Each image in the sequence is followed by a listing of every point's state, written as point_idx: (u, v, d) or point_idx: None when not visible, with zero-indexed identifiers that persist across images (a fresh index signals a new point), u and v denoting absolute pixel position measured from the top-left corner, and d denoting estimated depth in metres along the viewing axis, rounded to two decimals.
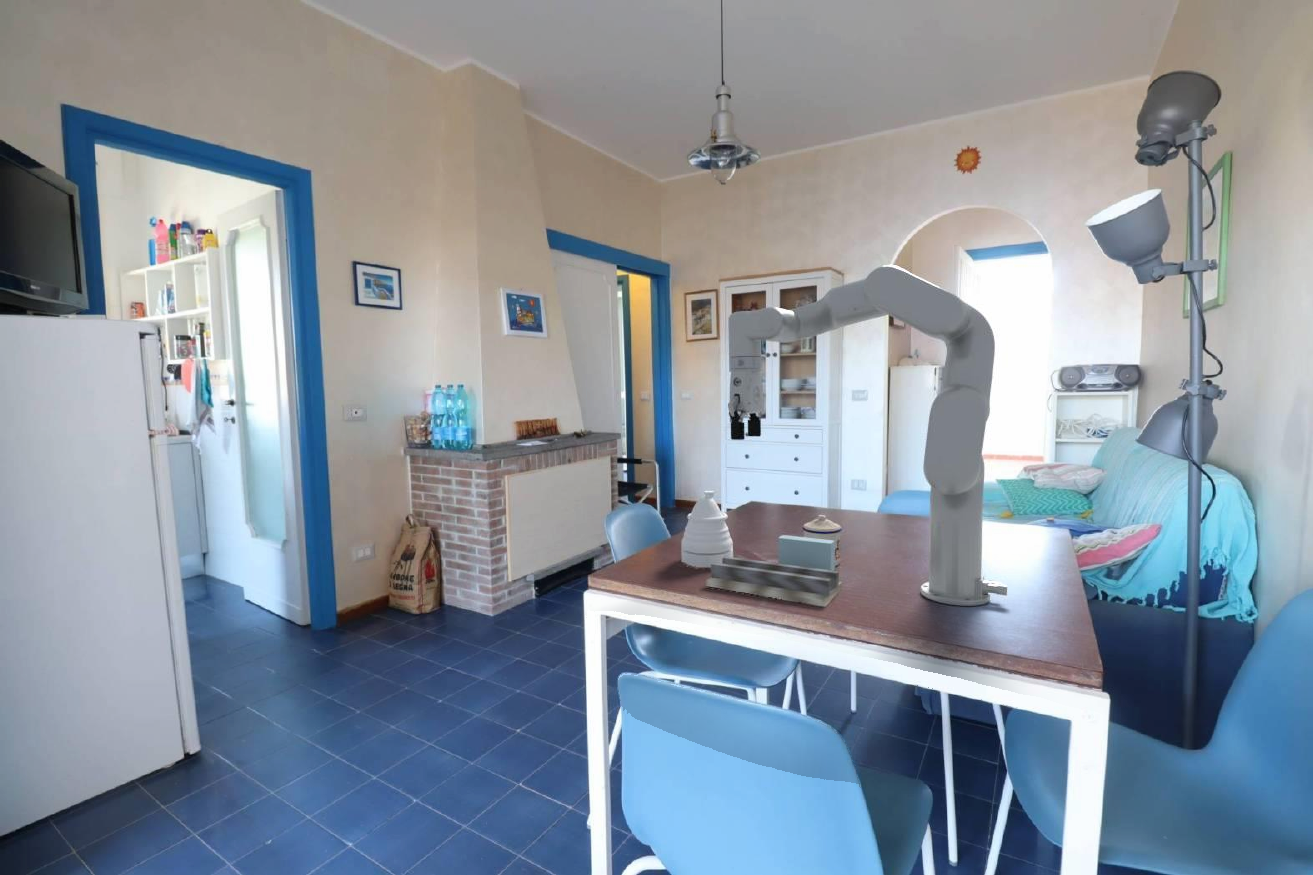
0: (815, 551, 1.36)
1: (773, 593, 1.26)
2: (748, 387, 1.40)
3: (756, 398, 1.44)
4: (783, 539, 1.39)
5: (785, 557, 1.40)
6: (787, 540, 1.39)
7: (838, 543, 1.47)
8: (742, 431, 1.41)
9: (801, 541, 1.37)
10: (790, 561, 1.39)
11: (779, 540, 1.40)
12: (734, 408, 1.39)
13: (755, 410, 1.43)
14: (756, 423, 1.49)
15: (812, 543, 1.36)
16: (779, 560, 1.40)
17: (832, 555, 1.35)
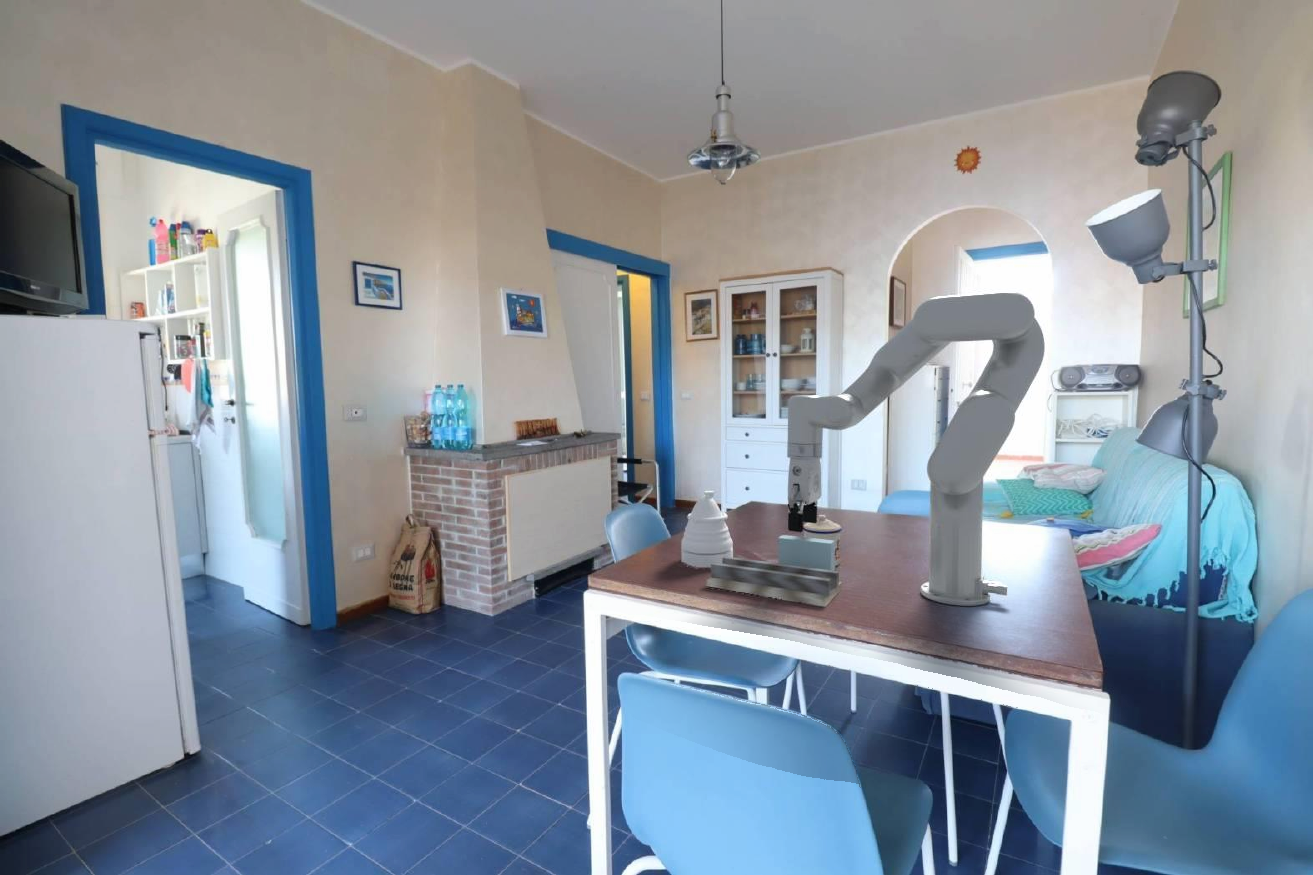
0: (815, 551, 1.36)
1: (773, 593, 1.26)
2: (808, 477, 1.32)
3: (815, 486, 1.36)
4: (783, 539, 1.39)
5: (785, 557, 1.40)
6: (787, 540, 1.39)
7: (838, 543, 1.47)
8: (801, 523, 1.33)
9: (801, 541, 1.37)
10: (790, 561, 1.39)
11: (779, 540, 1.40)
12: (794, 500, 1.31)
13: (814, 499, 1.35)
14: (812, 509, 1.41)
15: (811, 543, 1.36)
16: (779, 560, 1.40)
17: (832, 555, 1.35)
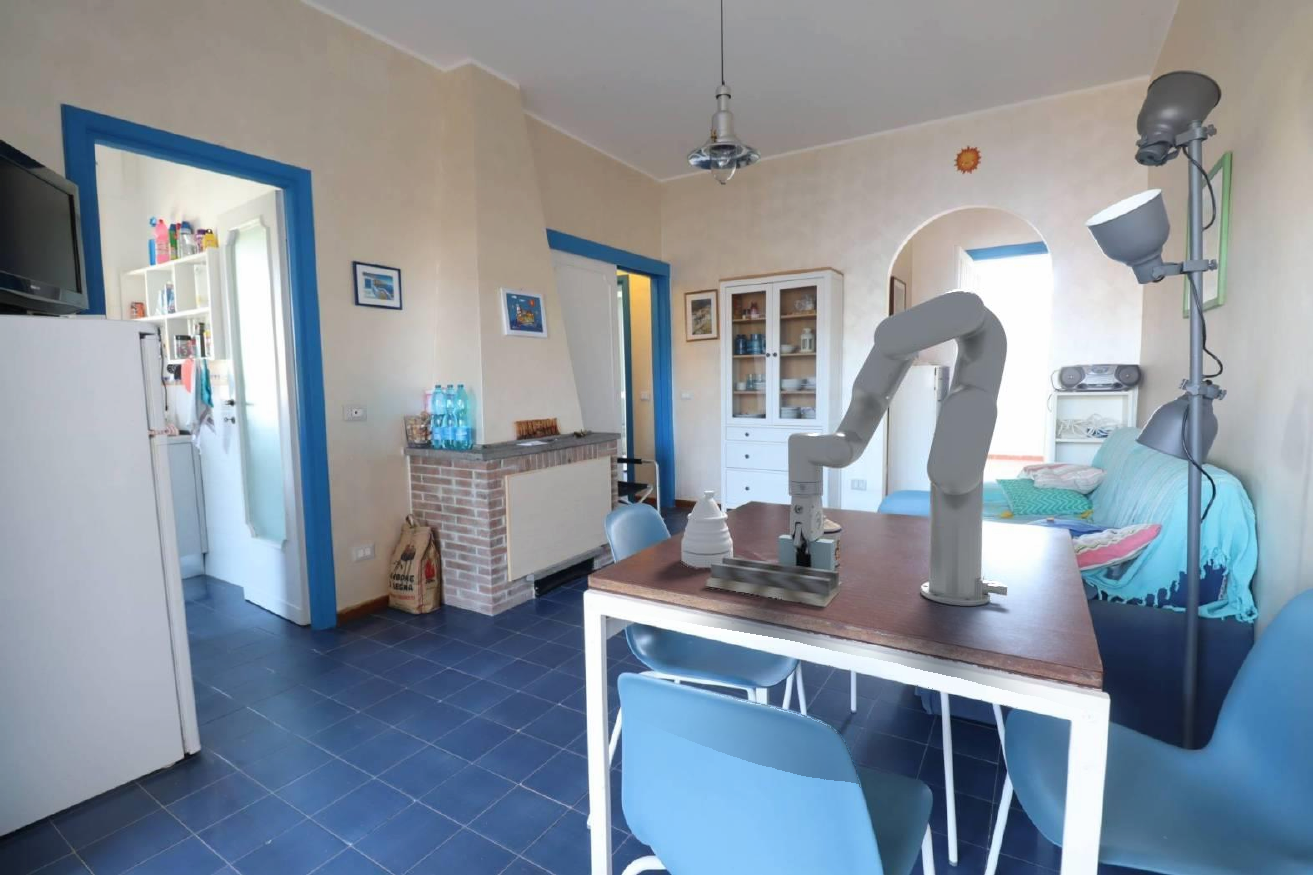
0: (815, 550, 1.36)
1: (773, 593, 1.26)
2: (810, 515, 1.33)
3: (817, 524, 1.36)
4: (783, 539, 1.39)
5: (785, 557, 1.40)
6: (787, 540, 1.39)
7: (838, 543, 1.47)
8: (808, 563, 1.36)
9: None
10: (789, 560, 1.39)
11: (779, 540, 1.40)
12: (801, 545, 1.34)
13: (817, 537, 1.36)
14: None
15: (811, 542, 1.36)
16: (779, 560, 1.40)
17: (832, 555, 1.35)
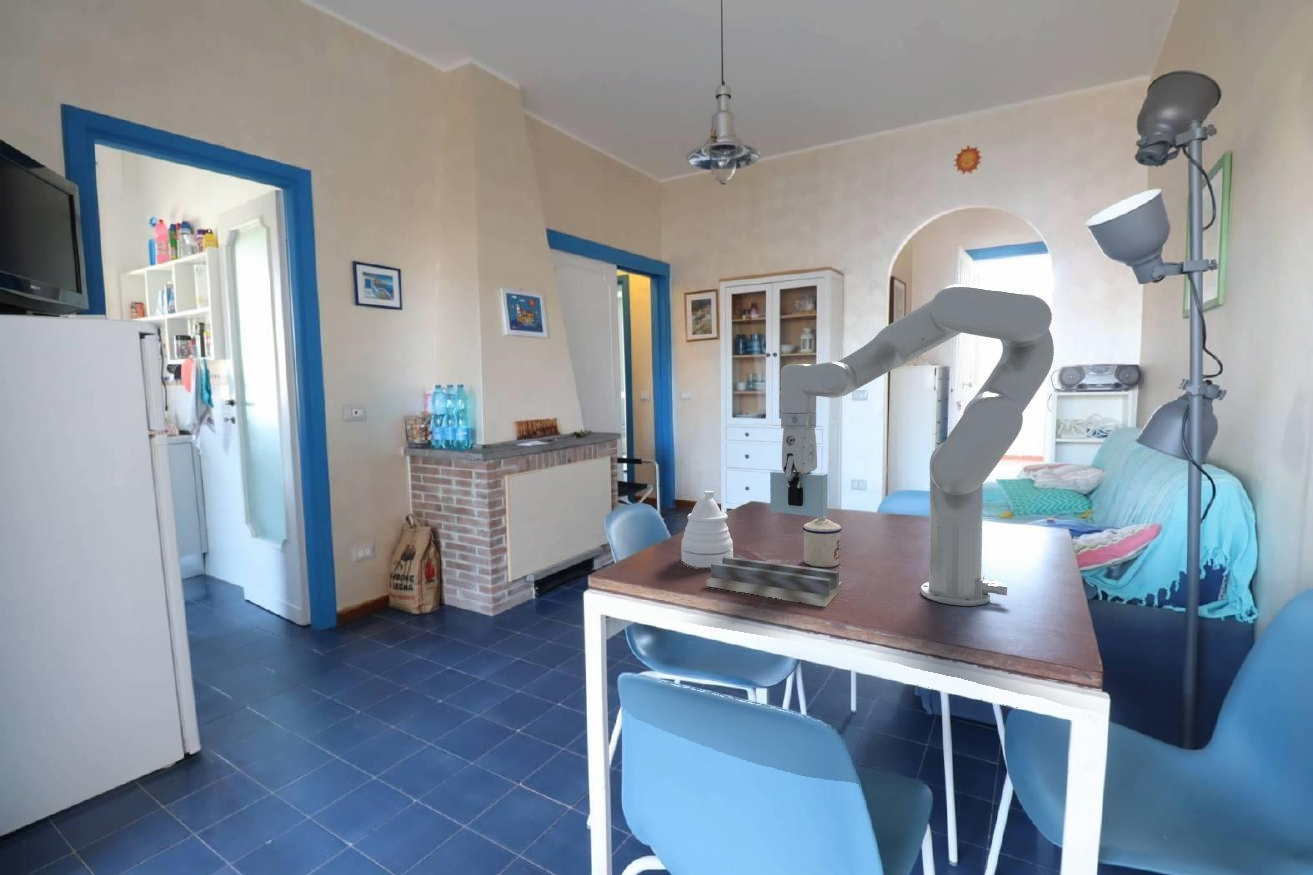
0: (807, 483, 1.33)
1: (773, 593, 1.26)
2: (802, 446, 1.30)
3: (810, 457, 1.34)
4: (775, 473, 1.37)
5: (777, 492, 1.37)
6: (779, 474, 1.37)
7: (838, 543, 1.47)
8: (800, 497, 1.34)
9: None
10: (782, 495, 1.37)
11: (771, 474, 1.38)
12: (792, 477, 1.31)
13: (809, 470, 1.33)
14: None
15: (804, 476, 1.34)
16: (771, 495, 1.38)
17: (824, 488, 1.32)
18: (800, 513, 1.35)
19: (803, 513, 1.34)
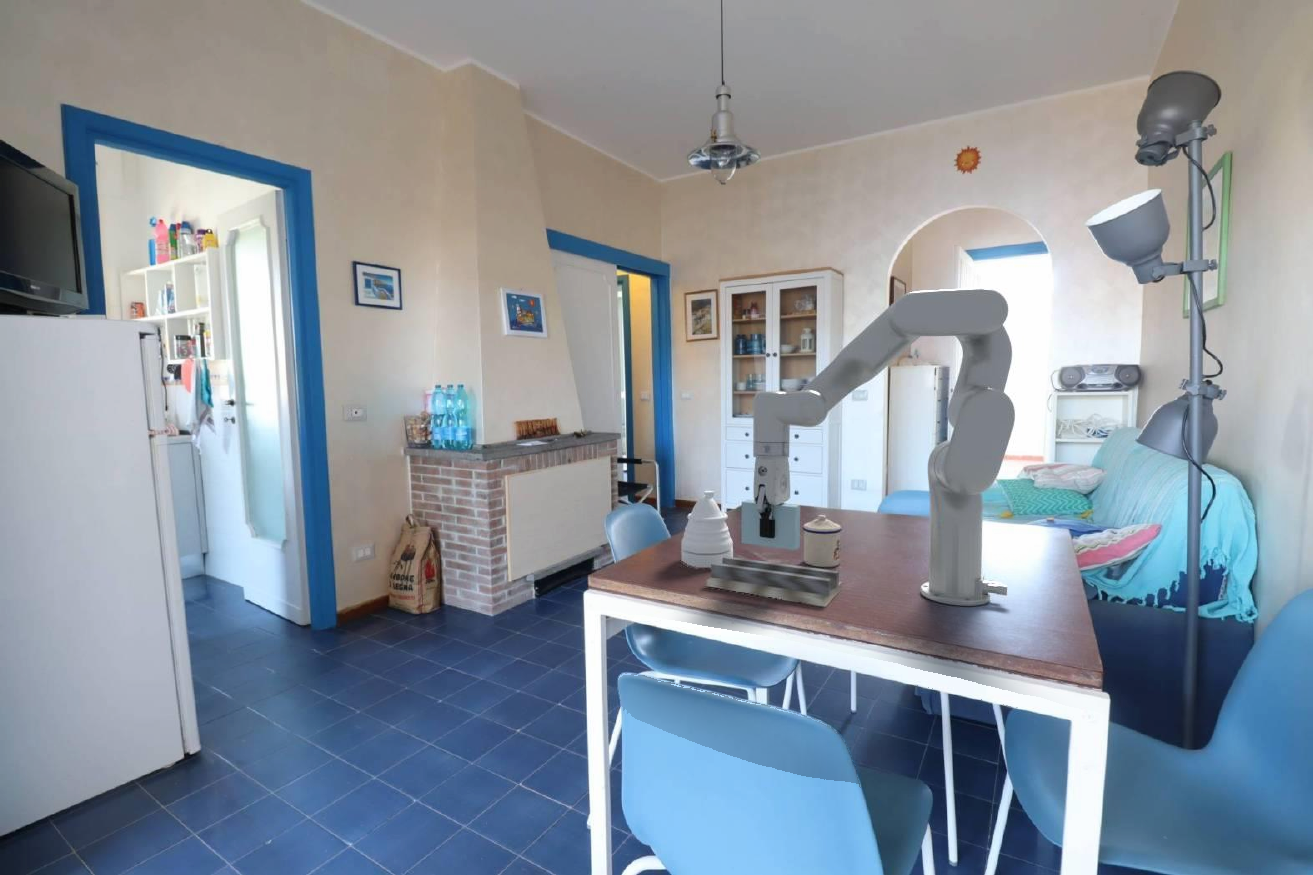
0: (779, 515, 1.29)
1: (773, 593, 1.26)
2: (774, 477, 1.26)
3: (783, 487, 1.29)
4: (747, 503, 1.32)
5: (748, 523, 1.32)
6: (751, 504, 1.32)
7: (838, 543, 1.47)
8: (772, 529, 1.29)
9: None
10: (753, 526, 1.32)
11: (742, 504, 1.33)
12: (764, 508, 1.27)
13: (781, 501, 1.29)
14: None
15: (776, 507, 1.29)
16: (742, 525, 1.33)
17: (797, 520, 1.28)
18: (772, 545, 1.30)
19: (775, 545, 1.30)
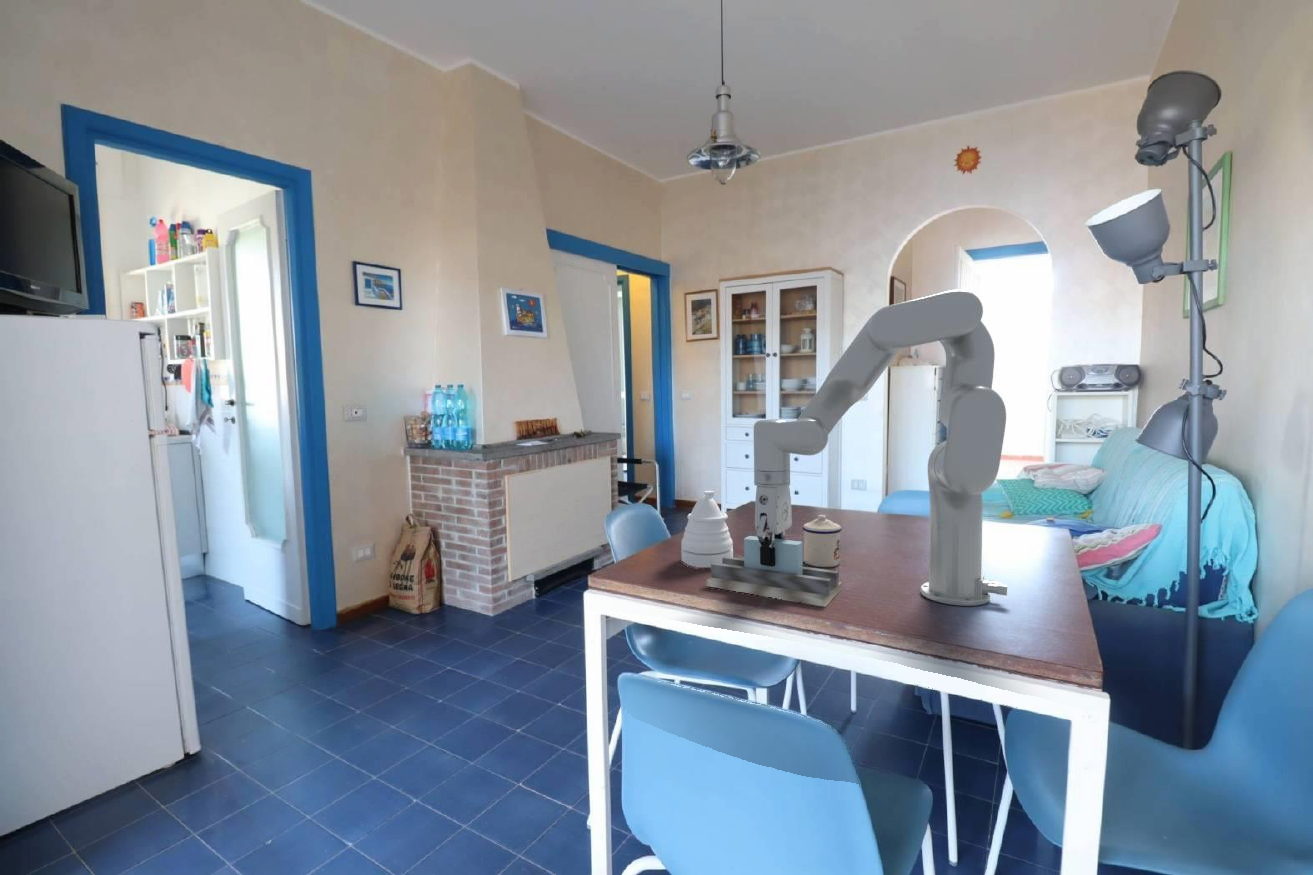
0: (781, 552, 1.29)
1: (773, 593, 1.26)
2: (776, 506, 1.26)
3: (784, 515, 1.30)
4: (749, 540, 1.33)
5: (751, 559, 1.33)
6: (753, 541, 1.32)
7: (838, 543, 1.47)
8: (773, 557, 1.28)
9: None
10: (756, 563, 1.32)
11: (745, 541, 1.33)
12: (764, 536, 1.26)
13: (783, 529, 1.29)
14: None
15: (778, 544, 1.29)
16: (745, 562, 1.34)
17: (799, 557, 1.28)
18: None
19: None
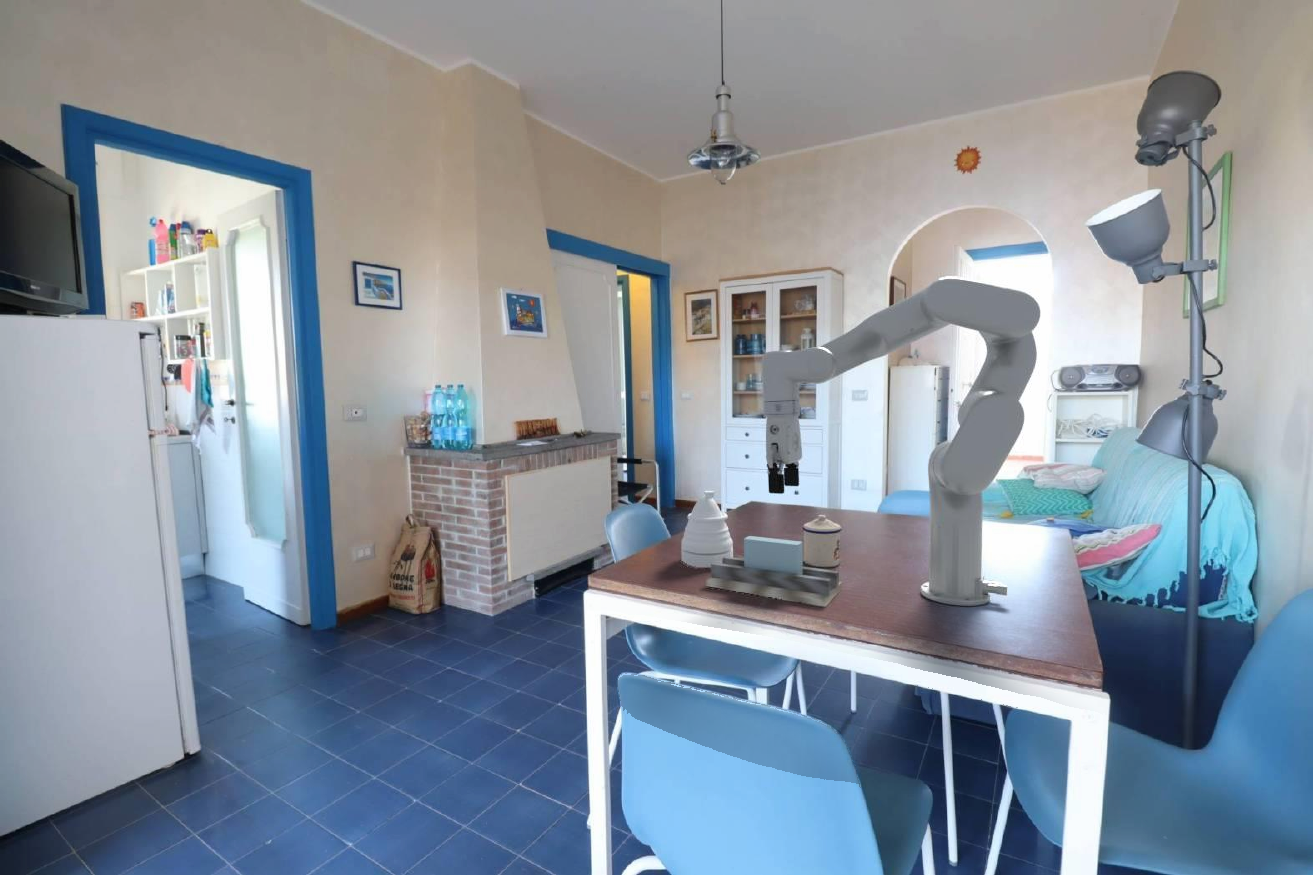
0: (781, 552, 1.29)
1: (773, 593, 1.26)
2: (787, 435, 1.26)
3: (795, 446, 1.30)
4: (749, 540, 1.33)
5: (751, 559, 1.33)
6: (753, 541, 1.32)
7: (838, 543, 1.47)
8: (782, 484, 1.27)
9: (767, 542, 1.31)
10: (756, 563, 1.32)
11: (745, 541, 1.33)
12: (773, 460, 1.25)
13: (794, 459, 1.29)
14: (794, 472, 1.35)
15: (778, 544, 1.29)
16: (745, 562, 1.34)
17: (799, 557, 1.28)
18: None
19: None
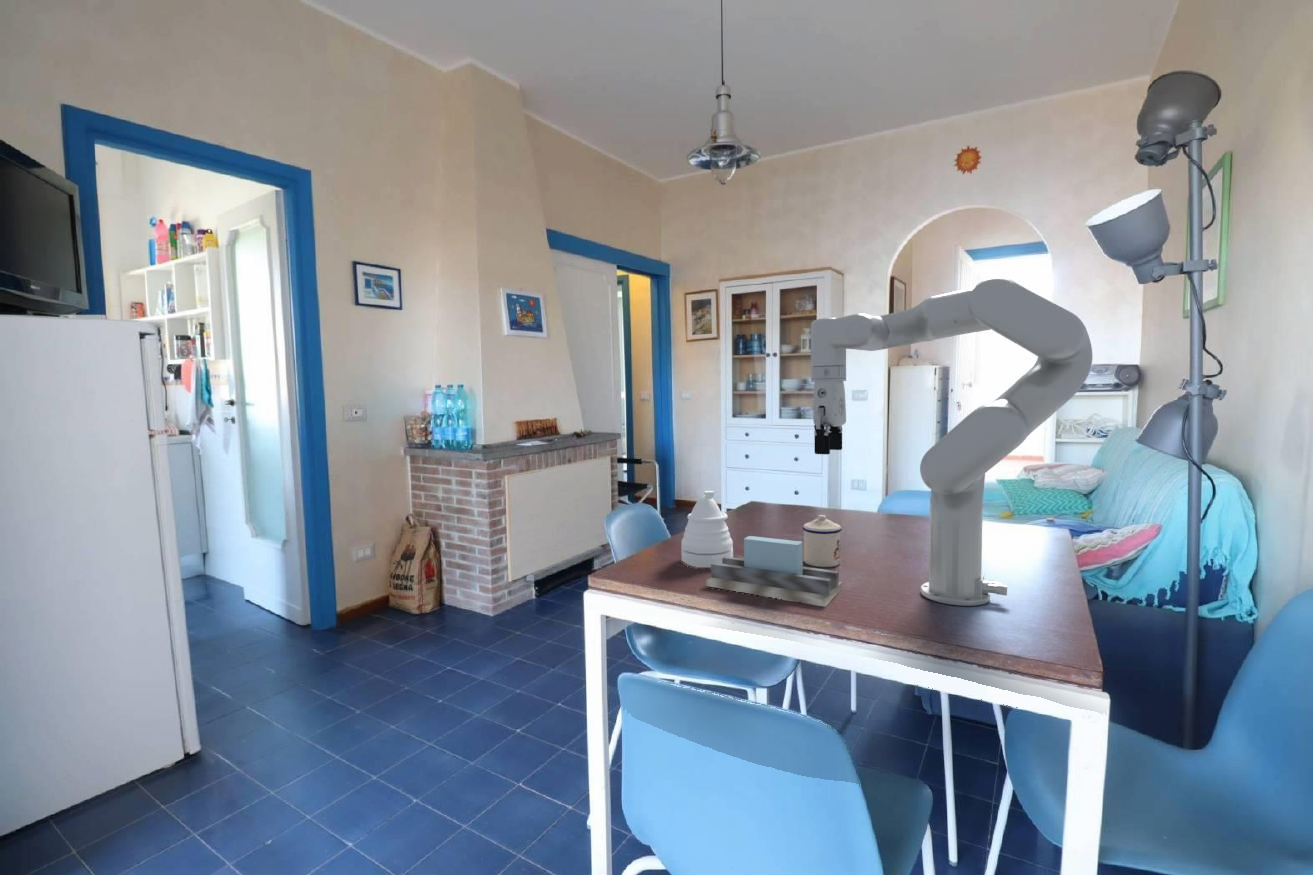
0: (781, 552, 1.29)
1: (773, 593, 1.26)
2: (834, 398, 1.32)
3: (840, 410, 1.36)
4: (749, 540, 1.33)
5: (751, 559, 1.33)
6: (753, 541, 1.32)
7: (838, 543, 1.47)
8: (827, 445, 1.33)
9: (767, 542, 1.31)
10: (756, 563, 1.32)
11: (745, 541, 1.33)
12: (821, 421, 1.31)
13: (840, 423, 1.35)
14: (837, 436, 1.41)
15: (778, 544, 1.29)
16: (745, 562, 1.34)
17: (799, 557, 1.28)
18: None
19: None
